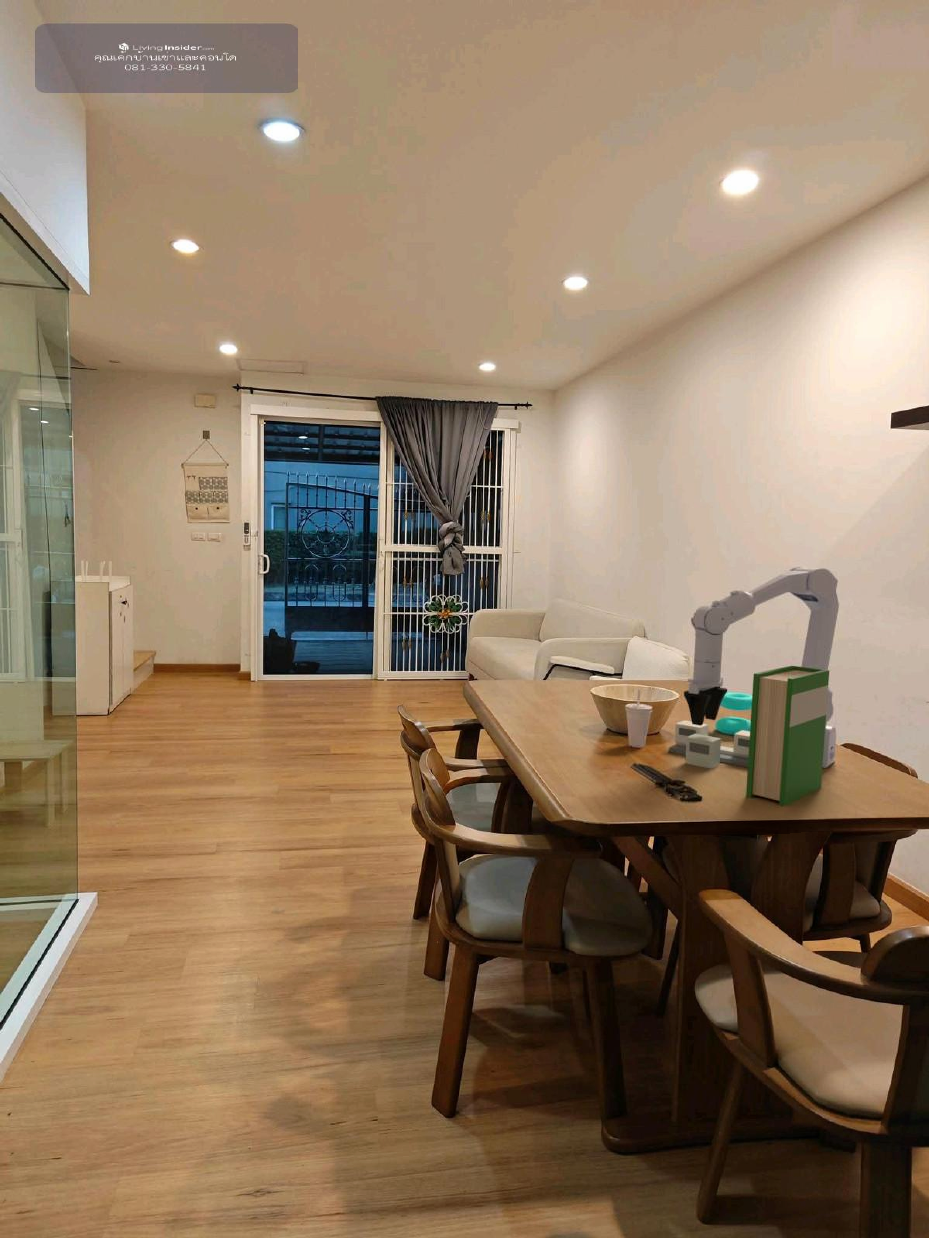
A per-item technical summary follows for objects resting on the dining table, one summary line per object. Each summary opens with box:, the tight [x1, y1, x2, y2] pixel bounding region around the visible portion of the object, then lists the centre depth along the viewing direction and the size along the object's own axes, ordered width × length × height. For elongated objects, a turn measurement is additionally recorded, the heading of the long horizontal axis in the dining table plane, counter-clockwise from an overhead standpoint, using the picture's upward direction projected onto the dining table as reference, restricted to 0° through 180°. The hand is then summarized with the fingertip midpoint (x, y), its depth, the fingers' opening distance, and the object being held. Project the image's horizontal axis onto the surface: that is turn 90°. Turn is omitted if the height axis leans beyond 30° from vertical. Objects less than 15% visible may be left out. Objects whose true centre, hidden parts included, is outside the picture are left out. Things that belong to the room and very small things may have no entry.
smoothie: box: [624, 687, 653, 748], centre depth 182 cm, size 6×6×14 cm
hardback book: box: [745, 665, 830, 807], centre depth 149 cm, size 18×7×24 cm, turn 134°
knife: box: [631, 762, 703, 803], centre depth 155 cm, size 25×6×1 cm, turn 8°
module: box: [685, 734, 722, 770], centre depth 168 cm, size 6×5×6 cm
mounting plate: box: [668, 719, 750, 768], centre depth 176 cm, size 20×11×6 cm, turn 50°
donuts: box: [715, 691, 752, 736], centre depth 200 cm, size 10×10×10 cm
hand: (704, 721), depth 168 cm, fingers open, 7 cm apart
